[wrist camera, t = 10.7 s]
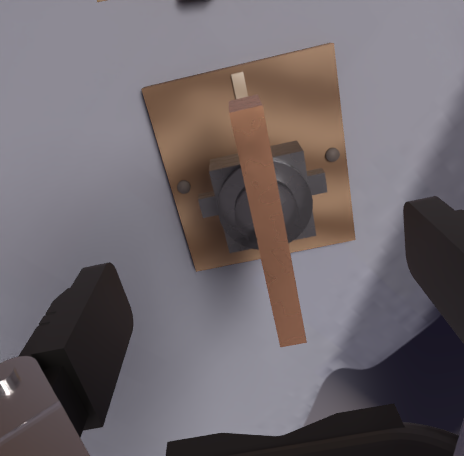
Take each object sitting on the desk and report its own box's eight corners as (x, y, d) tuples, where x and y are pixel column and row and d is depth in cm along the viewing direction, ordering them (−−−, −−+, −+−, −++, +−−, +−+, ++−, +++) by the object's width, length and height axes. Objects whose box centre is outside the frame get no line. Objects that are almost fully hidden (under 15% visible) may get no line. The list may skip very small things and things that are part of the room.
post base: (352, 234, 43) (381, 283, 34) (196, 265, 44) (190, 319, 36) (330, 42, 35) (362, 47, 27) (143, 87, 36) (120, 104, 28)
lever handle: (308, 71, 30) (339, 87, 22) (334, 264, 37) (366, 331, 29) (173, 102, 31) (155, 129, 23) (223, 285, 37) (223, 357, 29)
